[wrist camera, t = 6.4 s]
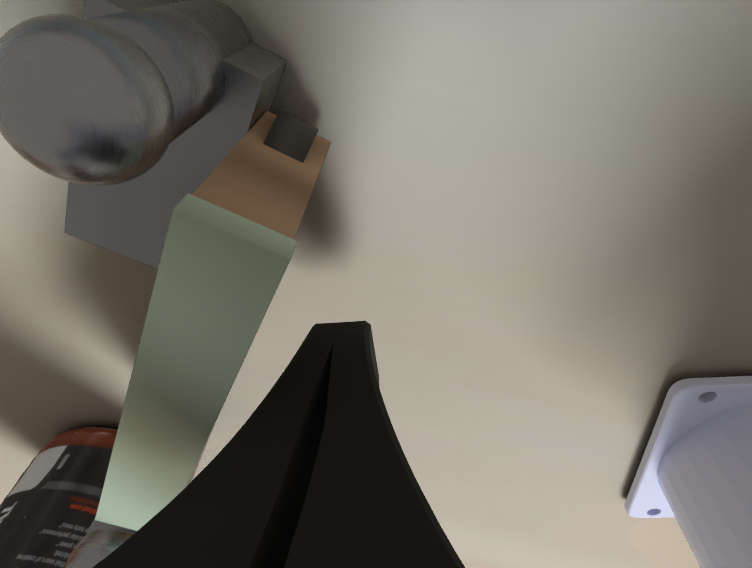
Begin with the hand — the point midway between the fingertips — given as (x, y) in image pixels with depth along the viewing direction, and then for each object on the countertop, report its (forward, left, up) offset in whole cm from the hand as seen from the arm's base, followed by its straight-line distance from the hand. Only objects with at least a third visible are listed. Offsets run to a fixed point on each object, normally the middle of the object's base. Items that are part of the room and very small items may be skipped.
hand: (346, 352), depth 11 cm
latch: (+3, -5, -2) cm, 6 cm away
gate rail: (+3, -1, -2) cm, 4 cm away
